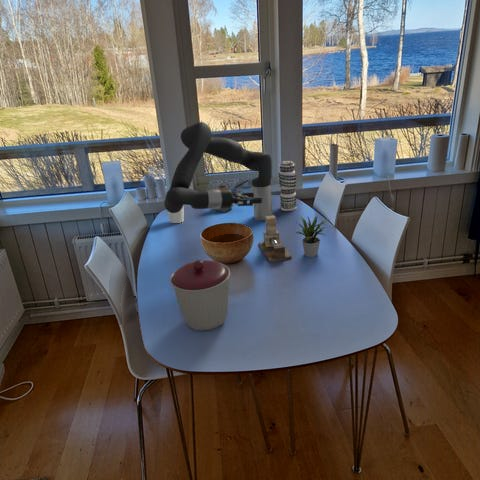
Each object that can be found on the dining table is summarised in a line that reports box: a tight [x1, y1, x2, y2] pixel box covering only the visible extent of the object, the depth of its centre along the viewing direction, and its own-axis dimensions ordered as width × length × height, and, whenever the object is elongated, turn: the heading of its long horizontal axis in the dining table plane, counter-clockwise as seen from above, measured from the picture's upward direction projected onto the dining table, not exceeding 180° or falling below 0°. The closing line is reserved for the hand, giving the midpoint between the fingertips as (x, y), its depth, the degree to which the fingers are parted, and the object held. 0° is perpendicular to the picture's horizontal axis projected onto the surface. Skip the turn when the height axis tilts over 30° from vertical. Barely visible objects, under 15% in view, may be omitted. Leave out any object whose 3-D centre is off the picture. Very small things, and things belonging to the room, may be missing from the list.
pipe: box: [270, 237, 279, 246], centre depth 167 cm, size 16×2×2 cm, turn 12°
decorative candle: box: [277, 160, 298, 212], centre depth 210 cm, size 9×9×25 cm
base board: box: [258, 238, 293, 263], centre depth 167 cm, size 18×9×6 cm, turn 12°
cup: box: [167, 205, 185, 224], centre depth 208 cm, size 9×9×12 cm
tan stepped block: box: [263, 214, 280, 247], centre depth 168 cm, size 3×6×13 cm, turn 102°
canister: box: [169, 259, 231, 332], centre depth 123 cm, size 18×18×21 cm
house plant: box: [294, 215, 330, 258], centre depth 159 cm, size 14×14×16 cm
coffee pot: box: [215, 179, 250, 212], centre depth 220 cm, size 21×12×15 cm, turn 97°
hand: (257, 197), depth 159 cm, fingers open, 8 cm apart
